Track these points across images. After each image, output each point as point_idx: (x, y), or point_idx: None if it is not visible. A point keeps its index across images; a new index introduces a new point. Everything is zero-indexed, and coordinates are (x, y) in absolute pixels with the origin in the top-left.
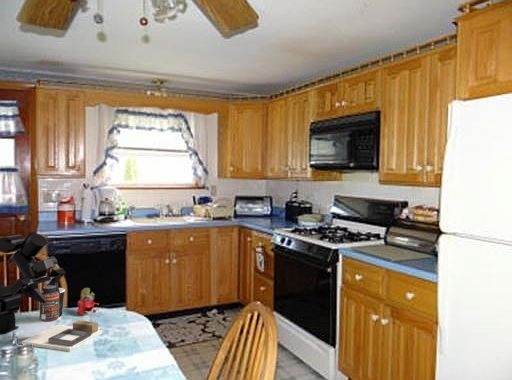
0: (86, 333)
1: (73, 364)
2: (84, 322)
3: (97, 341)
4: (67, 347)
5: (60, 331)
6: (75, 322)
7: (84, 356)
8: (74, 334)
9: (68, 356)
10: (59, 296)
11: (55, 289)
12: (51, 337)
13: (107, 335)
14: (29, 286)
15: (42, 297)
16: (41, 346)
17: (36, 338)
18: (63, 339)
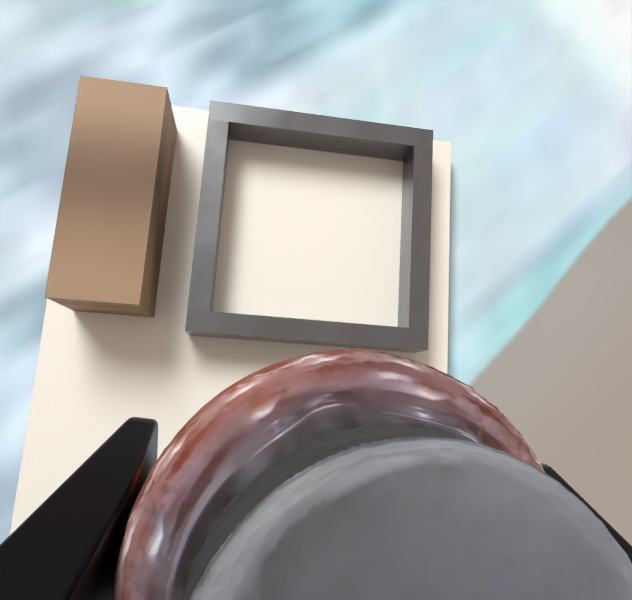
0: (258, 113)
1: (575, 37)
2: (101, 199)
3: (248, 65)
4: (443, 165)
5: (174, 428)
6: (117, 288)
7: (474, 31)
8: (216, 260)
9: (502, 121)
10: (157, 430)
11: (339, 436)
12: (401, 340)
13: (125, 48)
14: None
15: (629, 554)
16: None
17: None
18: (326, 284)
